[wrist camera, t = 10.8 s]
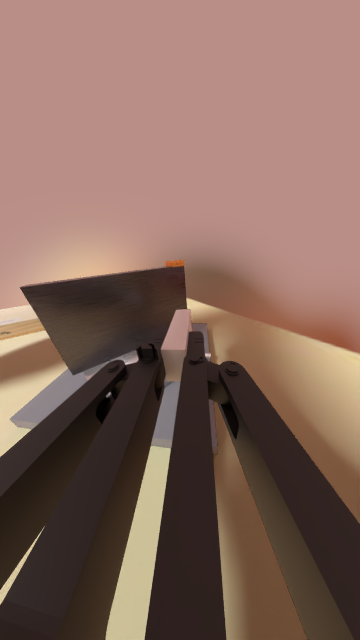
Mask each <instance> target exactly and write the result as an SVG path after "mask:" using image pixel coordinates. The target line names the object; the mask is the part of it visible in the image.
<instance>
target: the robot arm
mask: <svg viewBox="0 0 360 640" xmlns="http://www.w3.org/2000/svg"><path fill="white" fill-rule="evenodd" d="M136 352H137V355H138V361H137V362H135V363H131V364H127V365H125V363H124V361H122V360H114V361H111V362H109V363H108V364H106V365H105V366H104V367H103V368H102V369H100V370H99V371H98V372H97V373H96V374H95V375H94V376H92V377H91V378H90V379H89V380H88V381H87V382H86V383H84V384H83V385H82V386H81V387H80V388H79V389H78V390H76V391H75V392H74V393H73V394H72V395H71V396H70V397H68V398H67V399H66V400H65V401H64V402H63V403H62V404H60V405H59V406H58V407H57V408H56V409H55V410H54V411H53V412H51V413H50V414H49V415H48V416H47V417H46V418H45V419H43V420H42V421H41V422H40V423H39V424H38V425H37V426H35V427H34V428H33V429H32V430H31V431H30V432H29V433H27V434H26V435H25V436H24V437H23V438H22V439H21V440H19V441H18V442H17V443H16V444H15V445H14V446H13V447H11V448H10V449H9V450H8V451H7V452H6V453H5V454H4V455H2V456H1V457H0V590H1V588H2V587H3V585H4V584H5V582H6V581H7V579H8V578H9V577H10V575H11V574H12V572H13V571H14V569H15V568H16V567H17V565H18V564H19V562H20V561H21V559H22V558H23V556H24V555H25V554H26V552H27V551H28V549H29V548H30V546H31V545H32V543H33V542H34V541H35V539H36V538H37V536H38V535H39V533H40V532H41V531H42V529H43V528H44V529H43V531H42V532H41V534H40V536H39V538H38V540H37V541H36V543H35V545H34V547H33V549H32V550H31V552H30V554H29V556H28V557H27V559H26V561H25V563H24V565H23V566H22V568H21V570H20V572H19V574H18V575H17V577H16V579H15V581H14V582H13V584H12V586H11V588H10V590H9V591H8V593H7V595H6V597H5V598H4V600H3V602H2V603H1V605H0V640H105V638H106V631H107V625H108V620H109V615H110V611H111V607H112V603H113V599H114V595H115V590H116V586H117V582H118V578H119V574H120V570H121V566H122V562H123V558H124V553H125V549H126V545H127V541H128V537H129V533H130V529H131V525H132V521H133V517H134V512H135V508H136V504H137V500H138V496H139V492H140V488H141V484H142V480H143V475H144V471H145V467H146V463H147V459H148V455H149V451H150V447H151V443H152V438H153V434H154V430H155V426H156V422H157V418H158V414H159V410H160V406H161V402H162V397H163V393H164V389H165V384H164V380H165V376H166V381H178V382H180V389H179V396H178V403H177V410H176V417H175V425H174V432H173V439H172V446H171V453H170V461H169V468H168V475H167V482H166V489H165V497H164V504H163V511H162V518H161V525H160V533H159V540H158V547H157V554H156V561H155V569H154V576H153V583H152V590H151V597H150V605H149V612H148V619H147V626H146V633H145V640H226V629H225V615H224V601H223V588H222V574H221V560H220V547H219V533H218V519H217V506H216V492H215V478H214V465H213V451H212V437H211V424H210V410H209V399H210V400H212V401H215V402H217V403H218V405H219V408H220V410H221V413H222V416H223V418H224V421H225V423H226V426H227V429H228V431H229V434H230V437H231V439H232V442H233V445H234V447H235V450H236V452H237V455H238V458H239V460H240V463H241V466H242V468H243V471H244V473H245V476H246V479H247V481H248V484H249V487H250V489H251V492H252V495H253V497H254V500H255V502H256V505H257V508H258V510H259V513H260V516H261V518H262V521H263V524H264V526H265V529H266V531H267V534H268V537H269V539H270V542H271V545H272V547H273V550H274V553H275V555H276V558H277V560H278V563H279V566H280V568H281V571H282V574H283V576H284V579H285V581H286V584H287V587H288V589H289V592H290V595H291V597H292V600H293V603H294V605H295V608H296V610H297V613H298V616H299V618H300V621H301V624H302V626H303V629H304V632H305V634H306V637H307V639H308V640H360V524H359V523H358V521H357V520H356V519H355V517H354V516H353V515H352V513H351V512H350V511H349V509H348V508H347V506H346V505H345V504H344V502H343V501H342V500H341V498H340V497H339V496H338V494H337V493H336V492H335V490H334V489H333V488H332V486H331V485H330V483H329V482H328V481H327V479H326V478H325V477H324V475H323V474H322V473H321V471H320V470H319V469H318V467H317V466H316V465H315V463H314V462H313V460H312V459H311V458H310V456H309V455H308V454H307V452H306V451H305V450H304V448H303V447H302V446H301V444H300V443H299V442H298V440H297V439H296V438H295V436H294V435H293V433H292V432H291V431H290V429H289V428H288V427H287V425H286V424H285V423H284V421H283V420H282V419H281V417H280V416H279V415H278V413H277V412H276V410H275V409H274V408H273V406H272V405H271V404H270V402H269V401H268V400H267V398H266V397H265V396H264V394H263V393H262V392H261V390H260V389H259V387H258V386H257V385H256V383H255V382H254V381H253V379H252V378H251V377H250V375H249V374H248V373H247V371H246V370H245V369H244V367H243V366H241V365H240V364H238V363H237V362H233V361H226V362H223V363H221V364H220V365H217V364H214V363H211V362H210V361H208V360H207V359H206V357H205V348H204V335H203V333H202V332H201V331H192V327H191V309H182V310H176V312H175V314H174V317H173V319H172V322H171V324H170V327H169V329H168V332H160V333H159V334H157V335H156V337H155V339H154V341H153V343H152V342H147V343H143V344H141V345H139V346H138V347H137V348H136ZM109 392H110V393H111V395H110V396H108V397H106V396H107V395H108V393H109ZM46 523H47V524H46ZM44 526H45V527H44Z"/></svg>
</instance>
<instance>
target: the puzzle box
mask: <svg viewBox="0 0 360 640" xmlns="http://www.w3.org/2000/svg"><path fill="white" fill-rule="evenodd" d="M44 330H45V328H44V327H43V325H42V323H41V322H40V320H39V318H38V317H37V315H36V313H35V312H34V310H33V309H32V307H31V305H25V306H19V307H13V308H7V309H1V310H0V340H4V339H8V338H13V337H17V336H21V335H26V334H30V333H35V332H39V331H44Z"/></svg>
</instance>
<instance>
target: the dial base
mask: <svg viewBox="0 0 360 640" xmlns="http://www.w3.org/2000/svg"><path fill="white" fill-rule="evenodd" d="M191 327H192V331H201V332H202V333H203V335H204V348H205V357H206V359H207V360H208V361H210V357H211V354H209V346H208V334H207V323H194V324H191ZM86 382H87V379H86V377H85V375H84V373H83V372H81V373H78V374H76V375H74V376H73V375H72V373H71V372H70V370H69V368H68V369H67V370H66V371H65V372H63V373H62V374H61V375H60V376H59V377H58V378H56V379H55V380H54V381H53V382H52V383H51V384H50V385H48V386H47V387H46V388H45V389H44V390H43V391H41V392H40V393H39V394H38V395H37V396H36V397H34V398H33V399H32V400H31V401H30V402H29V403H28V404H26V405H25V406H24V407H23V408H22V409H21V410H19V411H18V412H17V413H16V414H15V415H14V416H12V417H11V418H10V420H11V421H12V422H13V423H14V424H15V425H16V426H17V427H22V428H29V429H33V428H34V427H35V426H37V425H38V424H39V423H40V422H41V421H42V420H43V419H45V418H46V417H47V416H48V415H49V414H50V413H51V412H53V411H54V410H55V409H56V408H57V407H58V406H59V405H60V404H62V403H63V402H64V401H65V400H66V399H67V398H68V397H70V396H71V395H72V394H73V393H74V392H75V391H76V390H78V389H79V388H80V387H81V386H82V385H83V384H84V383H86ZM179 389H180V382H178V381H173V382H172V383H170V384H169V385H167V386H166V387H165V389H164V393H163V397H162V402H161V406H160V410H159V414H158V418H157V422H156V426H155V430H154V434H153V438H152V443H151V445H152V446H159V447H166V448H171V446H172V439H173V432H174V425H175V417H176V410H177V403H178V396H179ZM209 410H210V424H211V437H212V451H213V454H217V436H216V425H215V413H214V402H213V401H212V400H210V399H209Z"/></svg>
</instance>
